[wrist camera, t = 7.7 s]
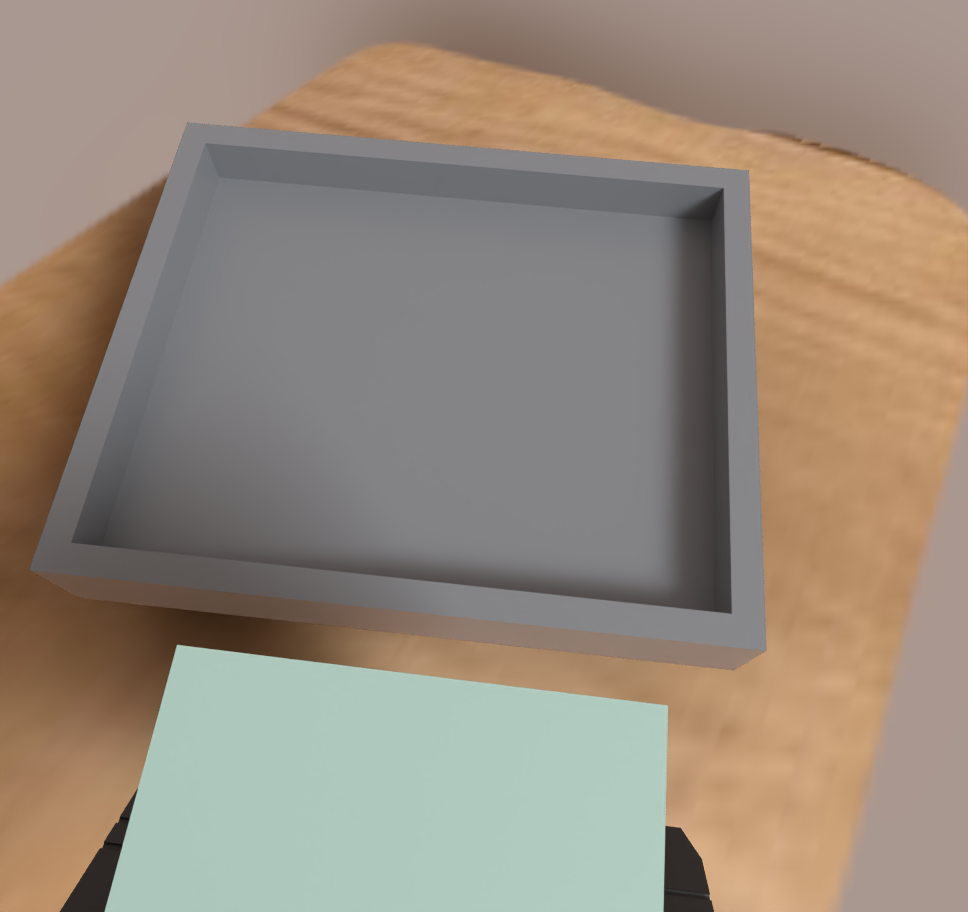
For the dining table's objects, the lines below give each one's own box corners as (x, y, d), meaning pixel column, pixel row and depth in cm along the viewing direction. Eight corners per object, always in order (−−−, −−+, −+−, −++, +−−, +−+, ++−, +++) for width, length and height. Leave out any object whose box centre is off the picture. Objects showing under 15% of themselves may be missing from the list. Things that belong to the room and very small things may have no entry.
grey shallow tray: (122, 622, 25) (28, 570, 20) (235, 239, 31) (187, 122, 26) (705, 687, 24) (766, 650, 19) (703, 281, 30) (749, 170, 25)
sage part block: (264, 1023, 14) (-1, 1299, 6) (320, 731, 16) (177, 645, 8) (543, 1061, 14) (654, 1395, 6) (564, 761, 16) (667, 705, 8)
